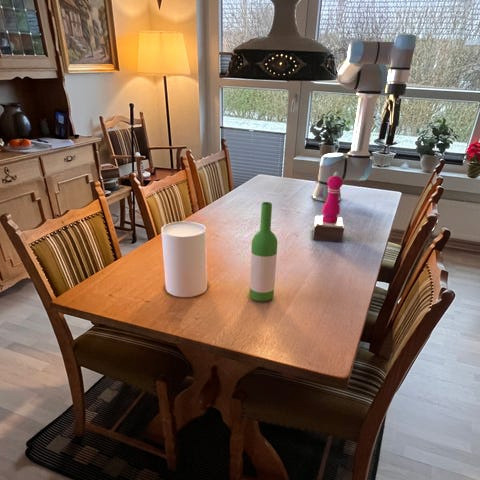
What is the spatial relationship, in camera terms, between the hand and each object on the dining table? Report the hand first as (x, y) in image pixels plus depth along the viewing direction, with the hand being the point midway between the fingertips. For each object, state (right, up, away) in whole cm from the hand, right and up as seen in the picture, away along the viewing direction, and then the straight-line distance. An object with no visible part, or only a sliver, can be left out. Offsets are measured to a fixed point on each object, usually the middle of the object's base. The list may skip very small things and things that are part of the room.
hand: (385, 142), depth 170 cm
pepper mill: (-22, -31, +5) cm, 39 cm away
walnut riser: (-22, -37, +9) cm, 44 cm away
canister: (-78, -63, -34) cm, 106 cm away
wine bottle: (-53, -66, -39) cm, 93 cm away
